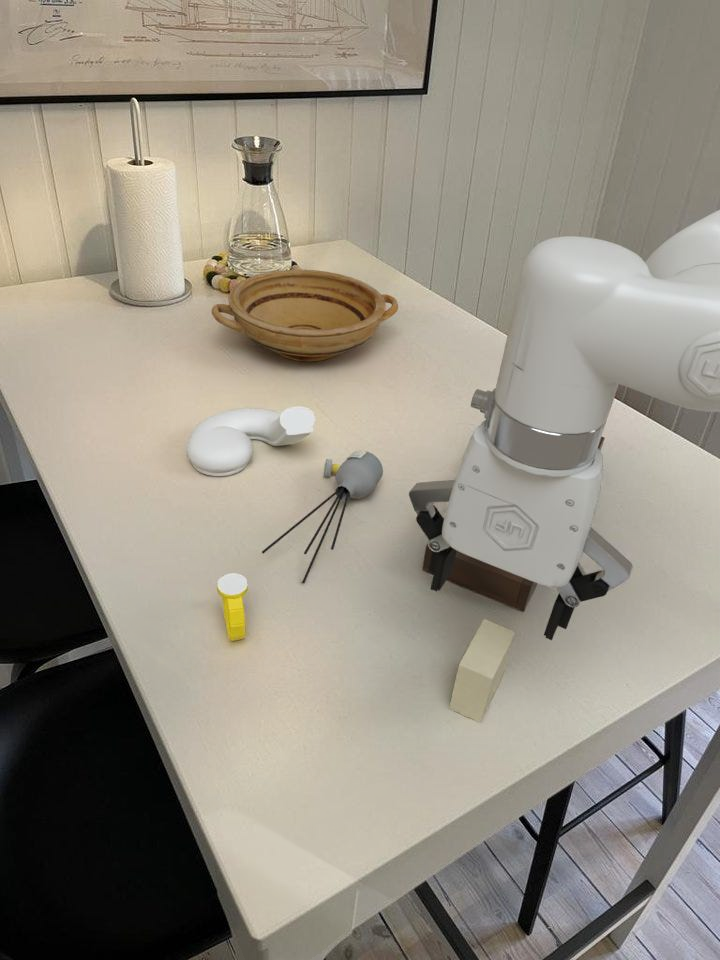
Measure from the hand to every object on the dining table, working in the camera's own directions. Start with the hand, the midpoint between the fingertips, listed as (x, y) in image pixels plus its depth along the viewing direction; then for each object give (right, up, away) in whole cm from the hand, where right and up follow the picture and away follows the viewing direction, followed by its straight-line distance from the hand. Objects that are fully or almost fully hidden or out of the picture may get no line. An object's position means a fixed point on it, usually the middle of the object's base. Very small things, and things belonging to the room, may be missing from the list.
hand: (495, 603), depth 61 cm
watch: (-23, -4, +11) cm, 26 cm away
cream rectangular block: (-1, -9, +7) cm, 11 cm away
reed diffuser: (-15, +5, +24) cm, 29 cm away
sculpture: (-26, +14, +34) cm, 45 cm away
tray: (+8, +7, +29) cm, 31 cm away
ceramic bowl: (-20, +32, +59) cm, 70 cm away
